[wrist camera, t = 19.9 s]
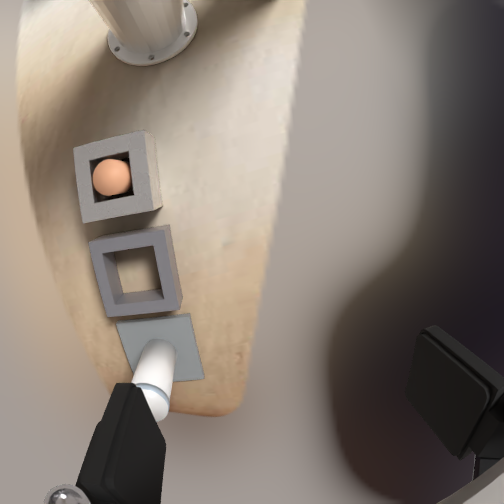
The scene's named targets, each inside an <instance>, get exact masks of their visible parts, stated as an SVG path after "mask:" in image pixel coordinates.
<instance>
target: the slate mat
mask: <svg viewBox="0 0 504 504" xmlns="http://www.w3.org/2000/svg"><path fill="white" fill-rule="evenodd" d="M116 326H117V329H118V332H119V335H120V338H121V341H122V344H123V347H124V350H125V353H126V355H127V358H128V361H129V363H130V366H131V369H132V371H133V374H135V371H136V368H137V366H138V363H139V360H140V357H141V355H142V352H143V349H144V347H145V345H146V343H147V342H148V341H150V340H152V339H164V340H166V341H168V342H170V343H171V344H172V345H173V346H174V347H175V349H176V351H177V359H176V365H175V370H174V376H173V382H175V381H187V380H198V379H204V372H203V368H202V364H201V360H200V355H199V351H198V347H197V343H196V339H195V334H194V330H193V325H192V321H191V316H190V313H188V314H179V315H171V316H162V317H152V318H142V319H132V320H121V321H117V323H116Z"/></svg>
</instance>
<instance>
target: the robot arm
mask: <svg viewBox="0 0 504 504" xmlns="http://www.w3.org/2000/svg"><path fill="white" fill-rule="evenodd" d="M89 2H90V3H91V4H92V6H93V7H94V8H95V10H96V11H97V12H98V14H99V15H100V17H101V18H102V19H103V21H104V22H105V23H106V25H107V26H108V28H109V32H108V44H109V47H110V50H111V51H112V53H113V54H114V55H115V56H116V57H117V58H118V59H119V60H121V61H122V62H124V63H127V64H130V65H135V66H148V65H154V64H158V63H161V62H164V61H166V60H168V59H170V58H172V57H174V56H175V55H177V54H179V53H180V52H181V51H182V50H183V49H185V48H186V47H187V46H188V44H189V43H190V42H191V41H192V39H193V37H194V35H195V33H196V30H197V26H198V19H197V13H196V10H195V8H194V7H193V5H192V4H191V3H190V2H189V1H187V0H89ZM186 36H189V37H186ZM153 58H154V59H153ZM151 59H153V60H151ZM405 393H406V397H407V399H408V401H409V402H410V403H411V404H412V406H413V407H414V408H415V409H416V411H417V412H418V413H419V414H420V415H421V417H422V418H423V419H424V420H425V422H426V423H427V424H428V425H429V427H430V428H431V429H432V430H433V432H434V433H435V434H436V435H437V437H438V438H439V439H440V440H441V442H442V443H443V444H444V446H445V447H446V448H447V449H448V451H449V452H450V453H451V454H452V455H453V456H457V457H458V459H459V460H462V459H463V458H465V457H466V456H468V455H469V454H470V453H471V452H472V451H473V452H474V453H475V463H474V472H473V480H472V482H471V483H469V484H467V485H466V486H464V487H463V488H461V489H460V490H458V491H457V492H455V493H454V494H452V495H451V496H449V497H447V498H446V499H444V500H442V501H441V502H439V503H437V504H504V378H503V377H502V376H501V375H500V374H498V373H497V372H496V371H495V370H493V369H492V368H491V367H490V366H488V365H487V364H486V363H485V362H484V361H482V360H481V359H480V358H478V357H477V356H476V355H475V354H473V353H472V352H471V351H469V350H468V349H467V348H466V347H464V346H463V345H462V344H460V343H459V342H458V341H456V340H455V339H454V338H453V337H451V336H450V335H449V334H447V333H446V332H444V331H443V330H442V329H441V328H439V327H438V326H431V327H428V328H425V329H423V330H421V332H420V334H419V335H418V336H417V339H416V345H415V350H414V355H413V360H412V365H411V370H410V374H409V378H408V382H407V387H406V391H405ZM165 453H166V443H165V439H164V437H163V435H162V434H161V431H160V429H159V427H158V425H157V423H156V420H155V418H154V416H153V414H152V412H151V409H150V407H149V405H148V403H147V400H146V398H145V396H144V393H143V391H142V389H141V388H140V387H136V385H135V384H134V383H117V384H116V385H115V387H114V389H113V392H112V394H111V397H110V400H109V402H108V405H107V407H106V410H105V412H104V415H103V417H102V420H101V421H100V422H99V423H98V424H97V426H96V428H95V431H94V434H93V436H92V439H91V442H90V445H89V447H88V450H87V453H86V456H85V459H84V462H83V464H82V467H81V470H80V473H79V476H78V479H77V483H76V486H73V485H69V484H63V485H59V486H56V487H54V488H52V489H51V490H50V491H49V492H48V493H47V495H46V497H45V500H44V504H160V503H161V492H162V481H163V471H164V462H165Z"/></svg>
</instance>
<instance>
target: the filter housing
mask: <svg viewBox="0 0 504 504" xmlns="http://www.w3.org/2000/svg"><path fill="white" fill-rule="evenodd" d="M88 244H89V248H90V253H91V257H92V262H93V266H94V270H95V274H96V278H97V282H98V286H99V290H100V293H101V297H102V300H103V304H104V307H105V311H106V314H107V317H115V316H125V315H136V314H146V313H155V312H164V311H173V310H180V307H181V303H182V299H183V296H182V291H181V286H180V281H179V275H178V270H177V265H176V259H175V254H174V248H173V242H172V236H171V230H170V225H164V226H157V227H151V228H145V229H139V230H133V231H127V232H121V233H115V234H109V235H104V236H99V237H97V238H96V239H94V240H92V241H90V242H88ZM146 246H154V251H155V256H156V261H157V266H158V271H159V276H160V281H161V286H162V289H156V290H148V291H139V292H131V293H123V290H122V286H121V282H120V278H119V274H118V269H117V265H116V260H115V256H114V251H120V250H126V249H133V248H139V247H146Z"/></svg>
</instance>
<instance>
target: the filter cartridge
mask: <svg viewBox="0 0 504 504" xmlns="http://www.w3.org/2000/svg"><path fill="white" fill-rule="evenodd" d="M176 359H177V351H176V349H175V347H174V346H173V345H172V344H171V343H170V342H168V341H166V340H164V339H152V340H150V341H148V342H147V343H146V345H145V347H144V349H143V352H142V355H141V357H140V360H139V363H138V366H137V368H136V371H135V374H134V377H133V379H132V382H131V383H134V384H135V385H136V387H140V388H141V389H142V391H143V393H144V396H145V398H146V400H147V403H148V405H149V407H150V409H151V412H152V414H153V416H154V418H155V420H156V422H158V421H161V420H163V419H164V418H165V417H166V416H167V413H168V411H169V405H170V394H171V388H172V382H173V376H174V370H175V365H176Z"/></svg>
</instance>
